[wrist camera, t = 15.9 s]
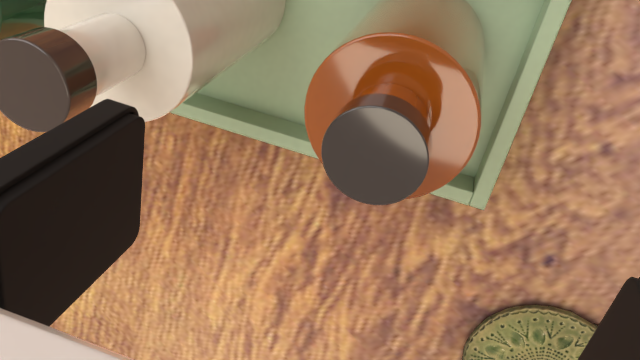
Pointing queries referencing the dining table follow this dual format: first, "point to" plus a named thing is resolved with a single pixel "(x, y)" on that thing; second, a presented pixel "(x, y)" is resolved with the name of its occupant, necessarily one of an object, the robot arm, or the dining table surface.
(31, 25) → the green glass bottle
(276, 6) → the frosted bottle
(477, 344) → the medallion
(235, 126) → the tray
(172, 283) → the dining table surface
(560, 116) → the dining table surface
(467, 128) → the amber bottle
